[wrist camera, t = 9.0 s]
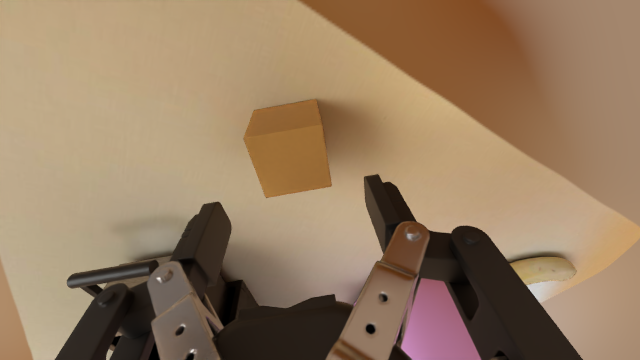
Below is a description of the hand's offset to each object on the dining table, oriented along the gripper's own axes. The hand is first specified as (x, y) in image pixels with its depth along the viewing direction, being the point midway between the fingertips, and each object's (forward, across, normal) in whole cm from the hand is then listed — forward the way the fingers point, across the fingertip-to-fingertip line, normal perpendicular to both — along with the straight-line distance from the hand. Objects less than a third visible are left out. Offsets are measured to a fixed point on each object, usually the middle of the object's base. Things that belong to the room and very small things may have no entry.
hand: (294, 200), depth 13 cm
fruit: (+9, -29, +29) cm, 42 cm away
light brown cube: (+9, 0, 0) cm, 9 cm away
